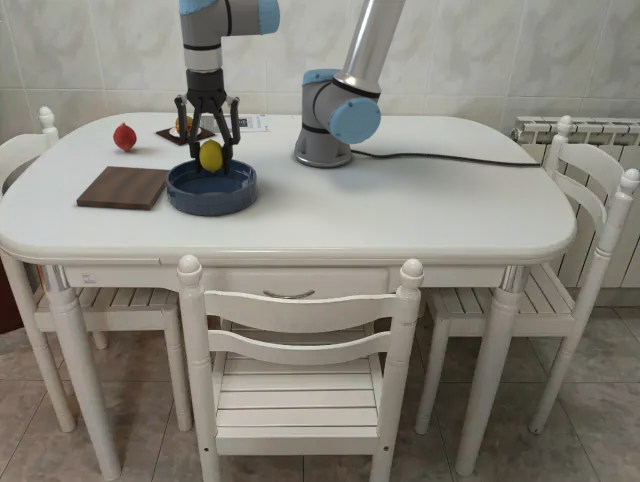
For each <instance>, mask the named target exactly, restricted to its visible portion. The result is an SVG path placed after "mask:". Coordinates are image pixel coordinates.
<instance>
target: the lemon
mask: <svg viewBox="0 0 640 482" xmlns="http://www.w3.org/2000/svg"><path fill="white" fill-rule="evenodd" d="M222 147H223V145H221V143H220V142H218V141H217V140H213V139H211V138H209V139H208V140H206V141H205V142H203V143H201V144H200V152H199V159H200V162H201V165H202V166H203V167H204V168H205V169H206V170H208V171H211V172H212V173H215V172H216V171H217V170H219V169H220V168H221V167H222V166H223V153H222Z"/></svg>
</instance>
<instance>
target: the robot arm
mask: <svg viewBox="0 0 640 482" xmlns="http://www.w3.org/2000/svg"><path fill="white" fill-rule="evenodd" d="M406 1H407V0H363V3H362V6H361V9H360V12H359V15H358V18H357V22H356V25H355V28H354V32H353V35H352V38H351V41H350V44H349V47H348V50H347V54H346V57H345V60H344V63H343V67H342V69H341V68H315V69H309V70H307V71H305V72H304V74H303V75H302V76H303V77H302V84H301V87H302V91H301V129H300V131H299V135H298V138H297V140H296V142H295V144H294V145H295V146H294V151H293V154H294V159H295V160H296V161H297V162H299V163H301V164H303V165H305V166H309V167H313V168H320V169H323V168H324V169H327V168H329V169H330V168H336V167H340V166H344V165H346V164H347V163H349V162H350V161H351V158H352V154H356V155H361V156H367V157H369V158H374V159H389V158H396V157H428V158H440V159H450V160H458V161H467V162H474V163H481V164H482V163H483V164H489V165H490V164H491V165H500V166H508V167H509V166H510V167H541V166H542V165H541V163H540V162H537V163H536V162H534V163H533V162H509V161H497V160H490V159H489V160H488V159H482V158H481V159H480V158H472V157H465V156H457V155H448V154H439V153H425V152H424V153H423V152H399V153H398V152H397V153H389V154H374V153H369V152H366V151H361V150H357V149H356V150H355V149H351V145H357V144H362V143H364V142H365V141H367V140H369V139H370V138H372V137H373V136H374V135H375V134H376V132H377V131H378V129H379V127H380V124H381V120H382V113H381V108H380V106H379V105H378V103H379V100H380V97H381V95H382V87H381V86H380V83H379V79H380V77H381V74H382V71H383V68H384V65H385V62H386V60H387V57H388V53H389V51H390V47H391V46H392V42H393V39H394V36H395V33H396V30H397V27H398V24H399V22H400V19H401V16H402V14H403V13H402V12H403V9H404V7H405V4H406ZM178 6H179V8H178V9H179V10H178V13H179V19H180V27H181V28H180V29H181V36H182V38H181V39H182V47H183V57H184V66H185V68H186V70H185V77H186V86H187V91H186V94H177V95H176V97H174V99H173V102H174V104H175V107H176V109H177V118H178V123H179V136H180V141H181V142H185V143H187V144H186V145H188V148H189V156H190V158H191V159H194V160H195V165H196V173H197V174H200V172H201V170H202V169H203V168H202V165H201V162H200V159H199V152H200V147H201V141H196V140H197V134H198V129H199V127H200V125H201V119H202V115H203V114H210V115H213V118H214V119H215V121H216V124H217V127H218V129H219V130H218V131H219V132H220V135H221V138H222V141H223V145H222V153H223V167H224V175H228V173H229V170H230V166H229V160H232V159H233V157H234V146H237V145H239V144H240V142H241V139H242V138H241V127H240V117H239V109H238V108H239V105H240V100H241V99H240V97H239V96H235V97H232V96H230V95H228V94H227V91H226V89H225V76H224V69H223V68H222V67H223V65H224V64H223V49H222V37H224V38H225V37H241V36H263V35H270V34H275V33H276V32H278V30H279V27H280V23H281V10H280V4H279V2H278V0H178ZM188 102H189V103H190V105H191V106H192V107H193V108H194V109H193V114H192V119H193V121H192V126H191V131H190V136H189V135H188V127H187V116H188V113H187V111H188V110H187V104H188ZM225 102H226V103H227V107H228V108H229V116H230V126H231V132H230V128H229V126H228V122H227V120H226V118H225V115H224V110H223V108H222V107H223V106H224V104H225ZM231 133H232V134H231Z"/></svg>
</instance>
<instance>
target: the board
mask: <svg viewBox="0 0 640 482" xmlns="http://www.w3.org/2000/svg"><path fill="white" fill-rule="evenodd" d="M170 170H171V169H163V168H162V169H160V168H146V167H144V168H143V167H132V166H131V167H130V166H129V167H128V166H115V165H114V166H111V165H107V166H106V167H105V168H104V169H103V171H102V172H100V174H99V175H97V177H96V178H94V180H93V181H92V182H91V184H89V186H87V188H86V189H85V190H84V191H83V192H82V193H81V194H80V195H79V197H77V199H76V200H75V201H76V205H77V207H89V208H103V209H119V210H120V209H121V210H133V211H134V210H138V211H151V209H152V207H153V206H154V205H155V203H156V201H157V200H158V198H159V197H160V195H161V194H162V192H163V191H164V189H165V188H166V175H167V173H168V172H169V171H170Z"/></svg>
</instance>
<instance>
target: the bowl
mask: <svg viewBox="0 0 640 482" xmlns="http://www.w3.org/2000/svg"><path fill="white" fill-rule="evenodd" d="M229 166H230V170H229V173H228V175H224V167H223V166H222V167H221V168H220V169H219V170H217V171H216V172H215V173H212V172H211V171H208V170H206V169H205V168H204V167H203V166H202V168H203V169H202V170H201V172H200V174H197V173H196V165H195V159H191V160H188V161H184V162H182V163H181V162H180V163H178V164H177V165H175V166H174V167H172V168H171V169H169V170H170V171H169V172H168V173H167V175H166V186H165V188H166V194H167V196H166V197H167V200H168V202H169V203H170V205H172V207H174V208H175V209H177V210H180V211H182V212H184V213H188V214H191V215H195V216H196V215H197V216H210V217H211V216H221V215H228V214H232V213H235V212H238V211H241V210H243V209H245V208H246V207H248V206H249V205H251V204H252V203H253V202H254V201H255V200H256V199H257V196H258V175H257V171H256V170H255V168H254V167H253V166H252V165H250V164H248V163H246V162H244V161H240V160H239V159H233V158H232V160H229Z"/></svg>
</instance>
